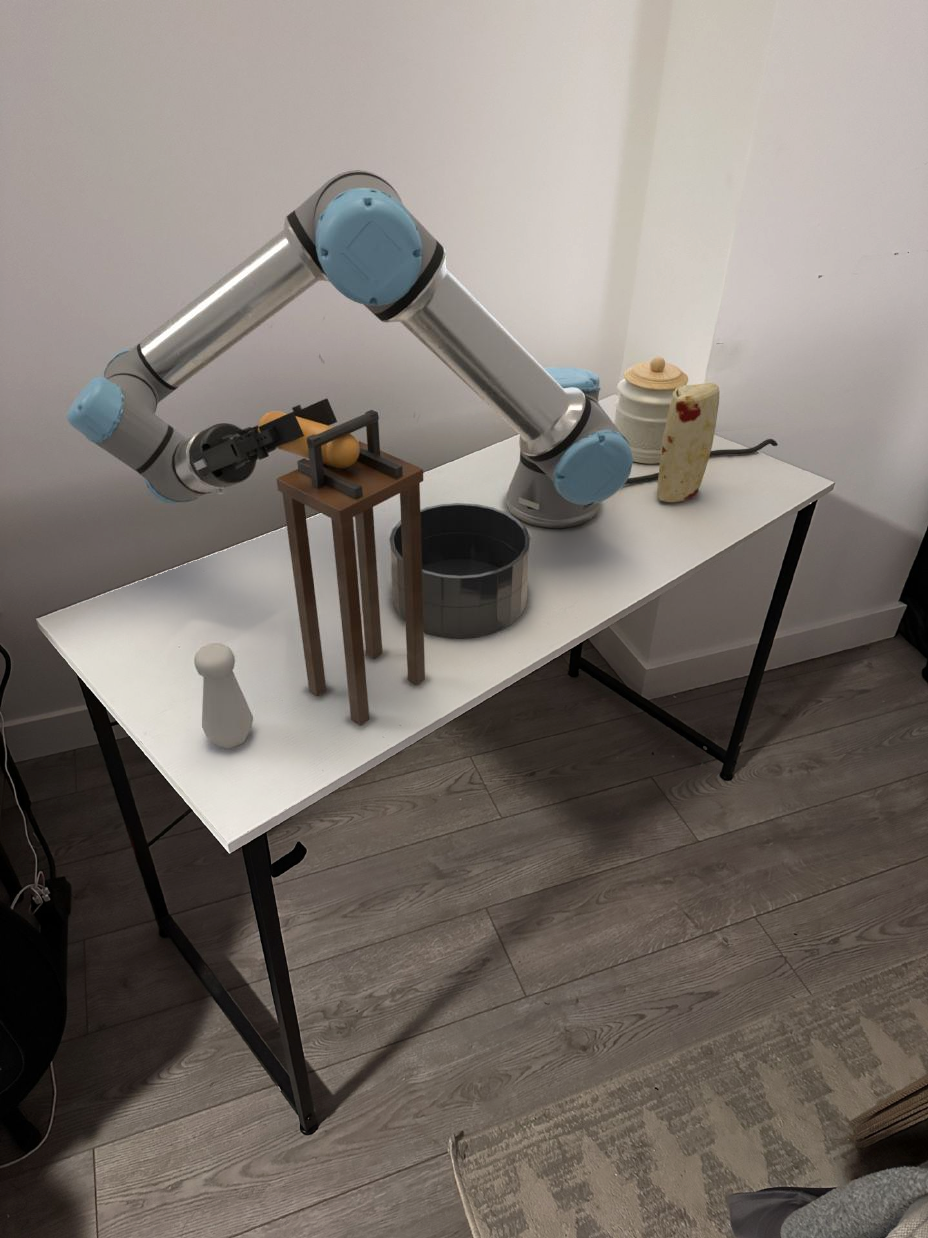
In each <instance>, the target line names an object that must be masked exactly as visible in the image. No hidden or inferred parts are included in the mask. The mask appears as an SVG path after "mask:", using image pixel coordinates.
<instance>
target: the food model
mask: <svg viewBox="0 0 928 1238" xmlns="http://www.w3.org/2000/svg"><path fill="white" fill-rule="evenodd" d="M719 405H720V387H719V385H717V384H716V383H714V382H703V383H698V384H685V385H680V386H678V387H677V388H676V389H675V390H674V392H673V395H672V400H671V404H670V409H669V414H668V418H667V423H666V427H665V431H664V435H663V440H662V448H661V458H660V463H659V468H658V472H659V477H658V478H657V498H658V500H659V501H662V502H666V503H678V502H684V501H687V500H690V499H692V498H694V497H696V496H697V494H698V493H699V489H700V487H701V484H702V482H703V479H704V475H705V472H706V469H707V466H708V462H709V461H710V460H709V459H710V457H711V456H710V453H711V451H712V449H713V443H714V438H715V432H716V428H717V421H718V420H717V419H718V414H719V413H718V412H719Z"/></svg>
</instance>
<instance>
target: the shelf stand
mask: <svg viewBox="0 0 928 1238" xmlns="http://www.w3.org/2000/svg"><path fill="white" fill-rule="evenodd" d="M379 420H380V416H379V412H378V411H377V410H374V409H370V410H367V411H365V412H364V414H361V415H359V416H357V417H354V418H352V419H350V420H347V421H345V422H342V423H340V424H338V425H336V426H332V427H333V428H331V429H328V430H326V431H324V432H321V433H319V434H317V435H315V434H313V435H311V436H308V437H307V445H308V453H309V459H308V458H305V457H302V459H299V460H297V462H296V464H297V469H294V470H293V471H290V472H288V473H286V474H283V475H281V476H279V477H277V478H276V479H275V480H276V487H277V492H279V493H281V494H282V501H283V508H284V516H285V524H286V531H287V537H288V545H289V552H290V561H291V565H292V575H293V582H294V590H295V597H296V603H297V610H298V619H299V620H298V621H299V627H300V633H301V634H300V635H301V642H302V650H303V656H304V663H305V671H306V679H307V685H308V691H309V692H310V693H312V694H313V695H315V696H316V697H319V696H320V695H321V694H323V693H324V692H326V691H327V682H326V681H327V680H326V674H325V666H324V657H323V647H322V640H321V632H320V623H319V615H318V614H319V613H318V606H317V598H316V590H315V582H314V573H313V565H312V556H311V555H312V554H311V547H310V540H309V532H308V531H309V530H308V523H307V514H306V507H309V508H311V510H314V511H316V512H318V513H320V514H321V515H324V516H326V517H328V518H330V522H331V531H332V540H333V551H334V559H335V560H334V562H335V570H336V582H337V590H338V591H337V592H338V601H339V608H340V609H339V611H340V612H339V613H340V620H341V622H340V623H341V632H342V642H343V643H342V644H343V653H344V659H345V660H344V662H345V669H346V670H345V671H346V681H347V690H348V702H349V712H350V720H351V721H352V722H353V723H355V724H356V725H358V726H362V725H363V724H364V723H366V722H368V721H369V720H370V707H369V695H368V683H367V672H366V670H367V669H366V661H365V660H366V659H365V658H366V657H365V655H367V656H368V657H370V658H372V659H373V660H375V659H376V658H378V657H379V656H381V655H382V654H383V639H382V637H383V636H382V623H381V609H380V594H379V578H378V577H379V576H378V564H377V548H376V546H377V545H376V533H375V531H376V529H375V517H374V507H376V506H378V505H380V504H381V503H384V502H386V501H388V500H389V499H391V498H393V497H395V496H397V495H399V507H400V520H401V531H402V554H403V577H404V600H405V621H404V622H405V641H406V664H407V680H408V681H409V682H410V683H413V684H414V685H415V686H418V685H419V684H421V683H422V682H424V681H425V680H426V667H425V666H426V661H425V657H426V656H425V633H424V622H423V586H422V551H421V515H420V510H421V486H420V484H421V483H422V482H424V468H422V467H420V466H419V465H415V464H413V463H410V462H409V461H406V460H405V459H401V458H399V457H397V456H395V455H392V454H390V453H388V452H387V451H386V452H385V451H383V450H381V441H380V426H379ZM363 428H365V429H366V443H365V442H362V441H361V440H359V441H358V443H359V446H360V454H359V457H358V459H357V461H356V462H355V463H354V464H353V465H351V466H350V467H347V468H341V469H340V468H335V467H332V466H329V465H326V464H323V458H322V448H321V446H322V445H324V444H327V443H329V442H331V441H334V440H336V439H338V438H340V437H343V436H345V435H347V434H349V433H351V434H353V433H354V432H356V431H359V430H361V429H363ZM305 506H306V507H305ZM354 523H355V524H354ZM354 525H355V526H354ZM355 537H356V538H355ZM356 547H357V549H356ZM357 560H358V561H357ZM359 585H360V587H359ZM360 597H361V599H360ZM361 610H362V611H361ZM364 646H365V647H364Z"/></svg>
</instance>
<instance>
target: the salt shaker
mask: <svg viewBox="0 0 928 1238" xmlns="http://www.w3.org/2000/svg"><path fill="white" fill-rule="evenodd" d="M193 663H194V664H193V665H194V668H195V670H196V672H197V674H198V676H200V677H202V678H203V679H202V704H201V705H202V711H201V728H202V730H203V733H204V735H205V737H206V738H207V739H208V740H209V741H210V742H211V743H213V745H215V746H217V747H221V748H223V749H227V750H230V749H232V748H235V747H238V746H241V745H244V744H245V742H246V740H247V737H248V735H249V733H250V731H251V730H252V727H253V722H254V715H253V713H252V712H251V711H252V710H251V709H250V706H249V704H248V702H247V699H246V697H245V695H244V693H243V691H242V689H241V687H240V684H239V682H238V678H237V677H236V675H235V673H234V669H235V664H236V656H235V654H234V652H233V650H232V649H231V647H230V646H228V645H226V644H224V643H217V642H213V643H209V644H206V645H204V646H202V647H201V648H199V650H198V651H197V652H196V653H195V655H194V659H193Z"/></svg>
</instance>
